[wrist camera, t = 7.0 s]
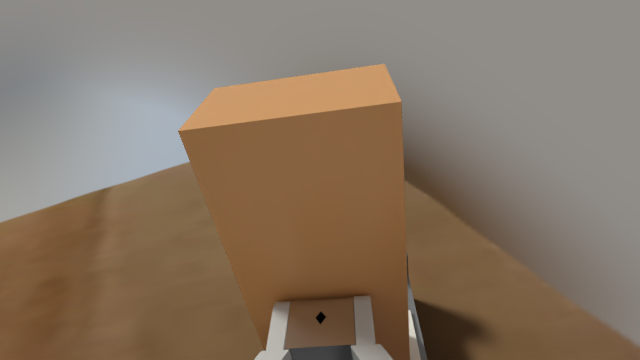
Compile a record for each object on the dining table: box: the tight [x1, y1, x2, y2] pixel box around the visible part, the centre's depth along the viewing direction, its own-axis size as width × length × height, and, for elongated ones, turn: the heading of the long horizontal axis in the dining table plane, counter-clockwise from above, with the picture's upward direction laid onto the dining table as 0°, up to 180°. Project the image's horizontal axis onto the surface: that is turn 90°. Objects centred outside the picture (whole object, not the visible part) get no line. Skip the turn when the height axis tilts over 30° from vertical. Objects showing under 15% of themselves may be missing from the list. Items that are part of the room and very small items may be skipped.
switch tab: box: [178, 64, 410, 360], centre depth 12 cm, size 3×5×12 cm, turn 88°
